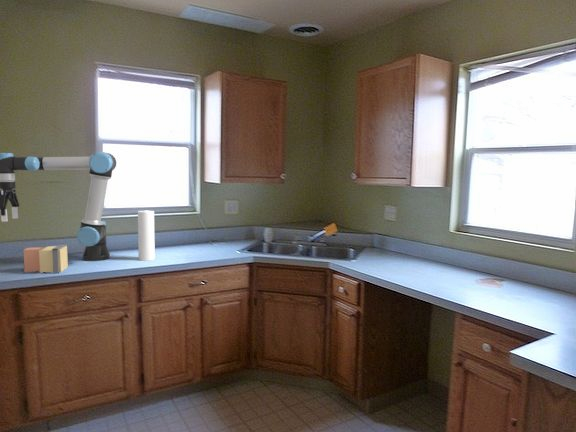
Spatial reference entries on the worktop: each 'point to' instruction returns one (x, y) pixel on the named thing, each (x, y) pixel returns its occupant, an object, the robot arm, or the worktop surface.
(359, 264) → the worktop surface
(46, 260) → the block
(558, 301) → the worktop surface
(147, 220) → the cylinder container
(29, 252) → the stub
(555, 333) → the worktop surface
